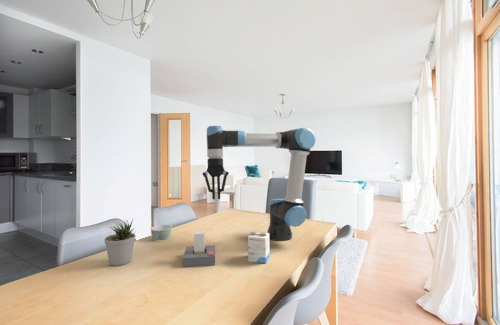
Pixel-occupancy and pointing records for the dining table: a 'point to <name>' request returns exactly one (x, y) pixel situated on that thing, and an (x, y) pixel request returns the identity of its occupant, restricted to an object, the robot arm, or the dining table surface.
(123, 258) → the potted plant
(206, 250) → the socket
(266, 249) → the ink box
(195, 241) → the plug
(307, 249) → the dining table surface
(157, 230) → the food container
